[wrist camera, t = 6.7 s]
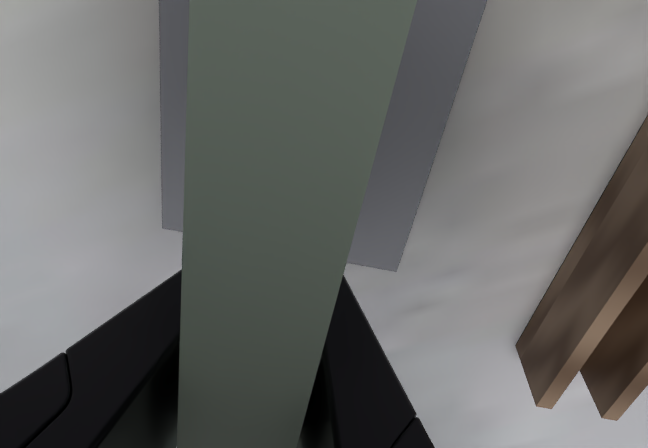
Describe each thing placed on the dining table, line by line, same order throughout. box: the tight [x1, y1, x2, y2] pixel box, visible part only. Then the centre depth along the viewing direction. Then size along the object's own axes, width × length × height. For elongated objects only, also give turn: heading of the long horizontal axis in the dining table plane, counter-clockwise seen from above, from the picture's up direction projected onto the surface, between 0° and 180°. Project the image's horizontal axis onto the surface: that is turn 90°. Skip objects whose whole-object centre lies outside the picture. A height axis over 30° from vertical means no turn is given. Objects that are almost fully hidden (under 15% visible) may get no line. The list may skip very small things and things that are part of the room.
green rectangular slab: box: [177, 0, 417, 448], centre depth 11 cm, size 14×2×11 cm, turn 169°
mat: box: [159, 0, 487, 272], centre depth 20 cm, size 18×12×1 cm, turn 170°
